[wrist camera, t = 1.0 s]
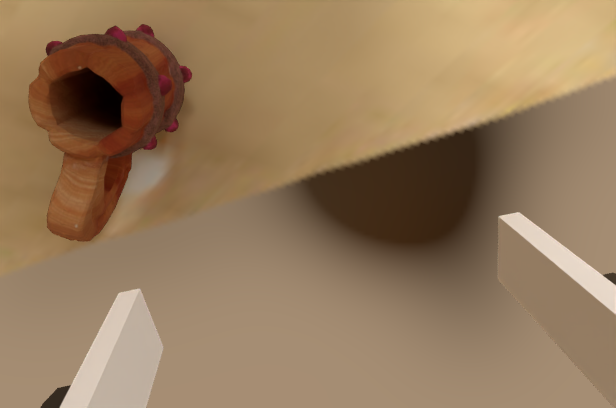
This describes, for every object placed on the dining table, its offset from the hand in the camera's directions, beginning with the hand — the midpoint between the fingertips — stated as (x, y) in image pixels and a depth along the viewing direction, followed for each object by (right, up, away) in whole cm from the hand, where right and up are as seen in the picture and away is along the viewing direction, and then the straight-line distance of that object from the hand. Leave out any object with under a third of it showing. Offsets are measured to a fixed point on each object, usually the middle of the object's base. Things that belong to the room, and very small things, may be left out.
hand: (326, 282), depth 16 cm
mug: (-16, +11, +23) cm, 30 cm away
